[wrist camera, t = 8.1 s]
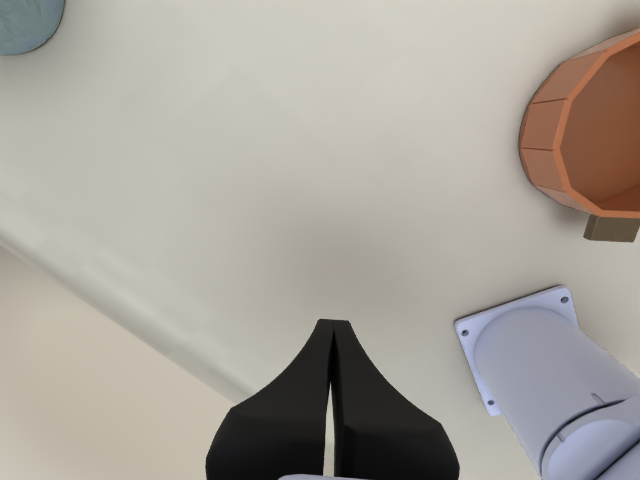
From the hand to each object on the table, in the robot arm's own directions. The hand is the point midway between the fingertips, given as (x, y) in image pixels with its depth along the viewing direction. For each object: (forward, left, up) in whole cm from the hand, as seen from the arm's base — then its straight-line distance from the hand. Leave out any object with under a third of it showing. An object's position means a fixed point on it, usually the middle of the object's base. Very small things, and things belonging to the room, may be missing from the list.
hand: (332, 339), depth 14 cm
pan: (+1, -18, -9) cm, 20 cm away
